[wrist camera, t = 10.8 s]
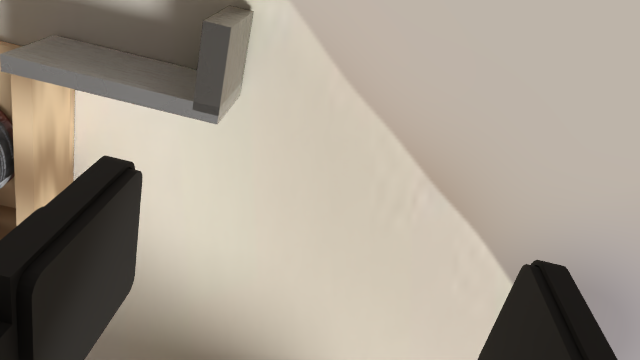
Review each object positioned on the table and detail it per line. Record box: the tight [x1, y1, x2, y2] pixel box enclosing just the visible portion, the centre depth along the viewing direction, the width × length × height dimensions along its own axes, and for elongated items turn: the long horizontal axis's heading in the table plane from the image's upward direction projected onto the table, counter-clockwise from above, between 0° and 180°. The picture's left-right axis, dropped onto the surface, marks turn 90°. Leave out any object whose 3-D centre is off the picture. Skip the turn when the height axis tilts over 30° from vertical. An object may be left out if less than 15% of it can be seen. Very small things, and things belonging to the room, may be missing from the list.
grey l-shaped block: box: [0, 6, 254, 124], centre depth 25 cm, size 4×10×4 cm, turn 77°
